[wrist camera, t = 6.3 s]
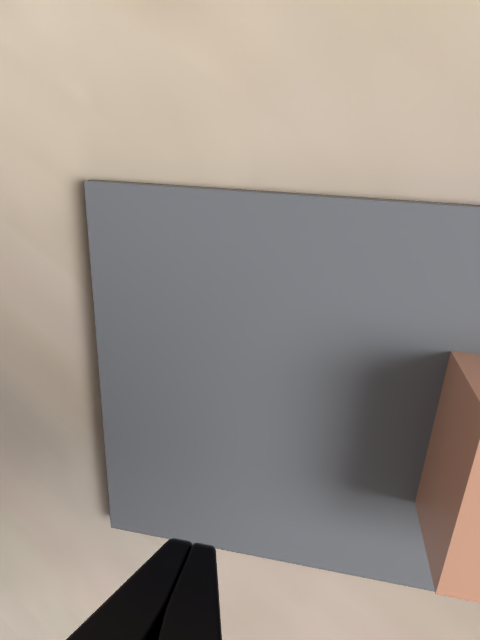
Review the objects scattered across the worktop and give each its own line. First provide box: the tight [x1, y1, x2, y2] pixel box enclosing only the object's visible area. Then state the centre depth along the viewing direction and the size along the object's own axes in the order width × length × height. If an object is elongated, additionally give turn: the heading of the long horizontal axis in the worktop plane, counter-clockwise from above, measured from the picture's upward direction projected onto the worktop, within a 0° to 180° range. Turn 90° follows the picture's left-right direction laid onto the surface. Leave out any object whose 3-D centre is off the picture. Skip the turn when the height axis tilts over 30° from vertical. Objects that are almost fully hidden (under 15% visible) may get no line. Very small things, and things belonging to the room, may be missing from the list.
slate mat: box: [84, 180, 480, 592], centre depth 12 cm, size 18×12×3 cm, turn 87°
